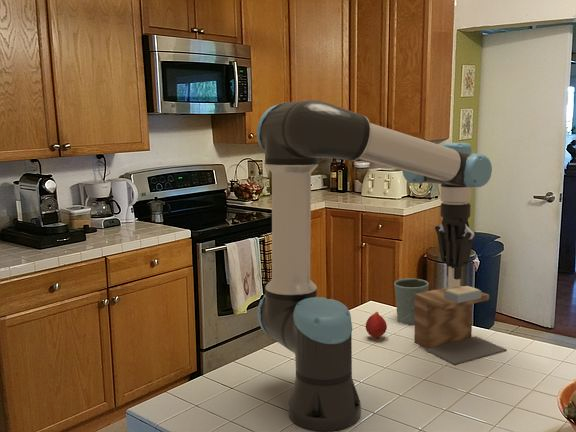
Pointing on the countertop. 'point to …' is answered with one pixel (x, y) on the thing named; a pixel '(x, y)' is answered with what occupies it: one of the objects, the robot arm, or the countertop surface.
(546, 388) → the countertop surface
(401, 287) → the grey-green tapered bin
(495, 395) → the countertop surface
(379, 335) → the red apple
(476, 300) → the brown flat-topped block
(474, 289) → the box
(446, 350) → the mat
